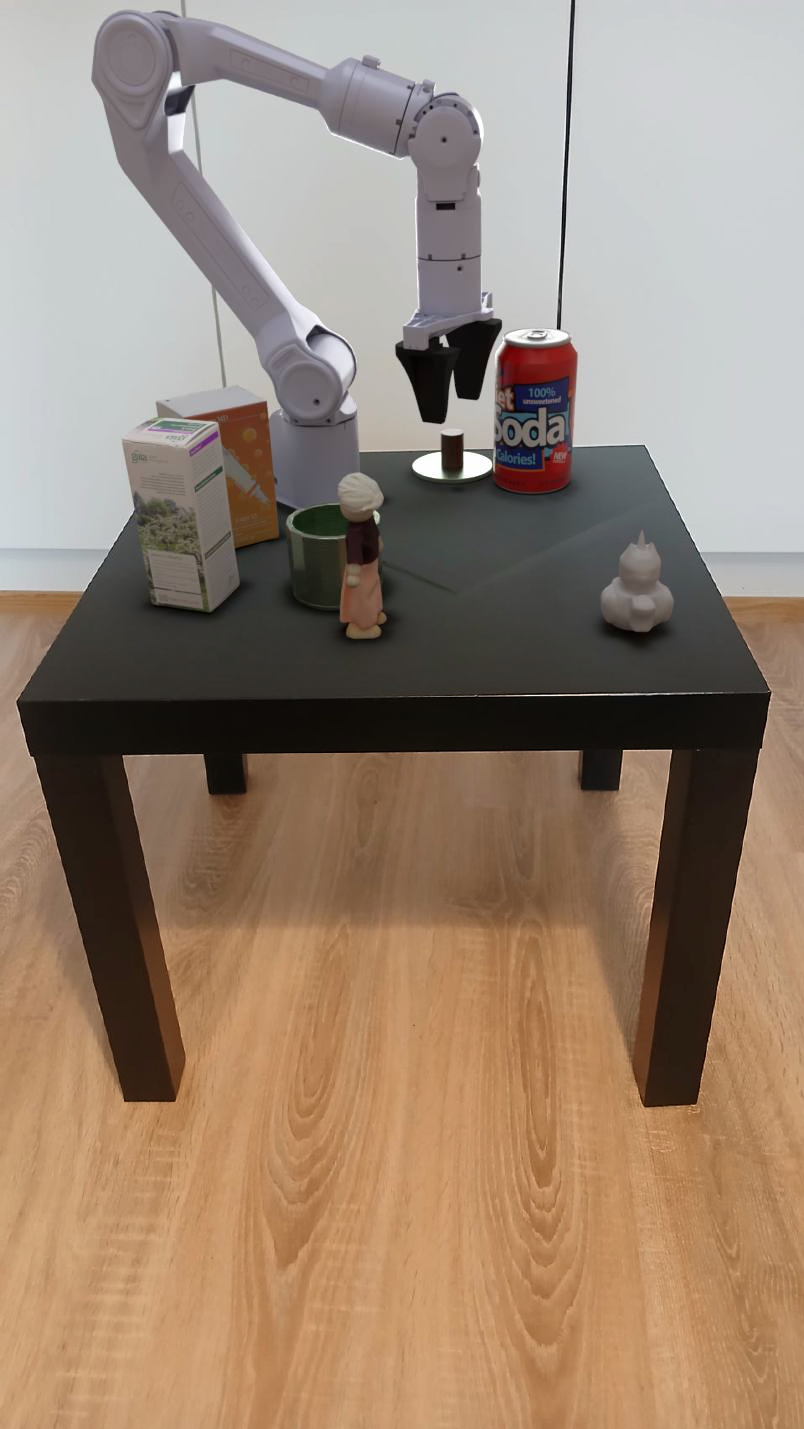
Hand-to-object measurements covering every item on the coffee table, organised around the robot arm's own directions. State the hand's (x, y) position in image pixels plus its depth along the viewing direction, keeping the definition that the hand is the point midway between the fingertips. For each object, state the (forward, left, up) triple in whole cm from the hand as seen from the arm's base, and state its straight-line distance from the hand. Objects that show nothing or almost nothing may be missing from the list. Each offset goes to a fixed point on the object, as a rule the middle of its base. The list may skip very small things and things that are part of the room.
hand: (451, 410), depth 99 cm
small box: (-10, -20, -10) cm, 24 cm away
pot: (+6, -20, -9) cm, 23 cm away
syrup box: (-2, -29, -10) cm, 31 cm away
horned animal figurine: (+28, -9, -10) cm, 31 cm away
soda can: (+3, +9, -10) cm, 13 cm away
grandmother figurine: (+13, -23, -10) cm, 28 cm away
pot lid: (-6, +6, -9) cm, 12 cm away
